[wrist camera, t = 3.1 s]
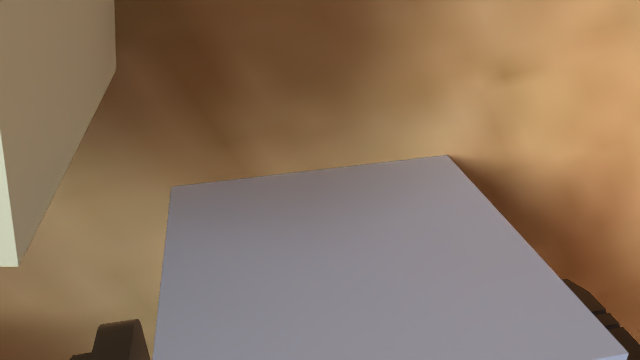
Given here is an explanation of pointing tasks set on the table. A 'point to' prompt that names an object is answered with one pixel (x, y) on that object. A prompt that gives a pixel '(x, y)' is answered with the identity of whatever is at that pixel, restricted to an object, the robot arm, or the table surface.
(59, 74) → the sage block
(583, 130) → the table surface
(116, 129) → the table surface
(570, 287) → the robot arm
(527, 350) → the slate blue block
